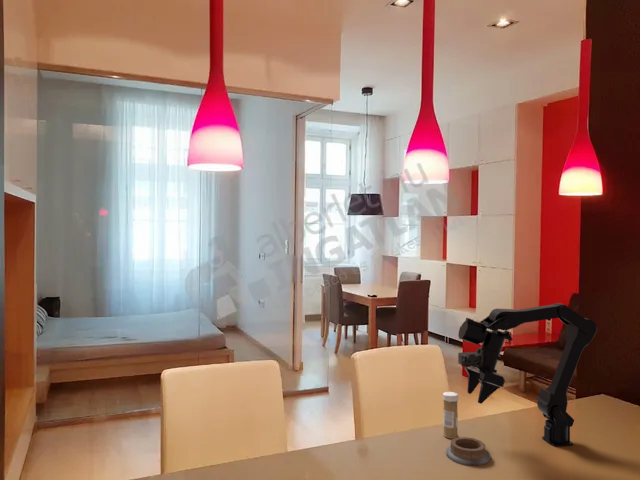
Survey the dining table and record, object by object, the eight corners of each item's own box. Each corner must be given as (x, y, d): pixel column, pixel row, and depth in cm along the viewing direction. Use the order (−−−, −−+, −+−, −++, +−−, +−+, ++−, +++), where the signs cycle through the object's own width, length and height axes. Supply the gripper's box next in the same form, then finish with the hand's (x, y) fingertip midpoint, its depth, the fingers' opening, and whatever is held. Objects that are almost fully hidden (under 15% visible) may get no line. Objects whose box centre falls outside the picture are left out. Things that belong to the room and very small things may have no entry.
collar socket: (477, 445, 153) (477, 434, 153) (498, 463, 141) (498, 450, 141) (439, 448, 151) (439, 437, 151) (457, 467, 139) (457, 454, 139)
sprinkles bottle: (460, 437, 160) (461, 394, 160) (450, 440, 157) (451, 396, 157) (449, 432, 164) (450, 390, 163) (439, 435, 161) (440, 392, 161)
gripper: (456, 335, 164) (440, 381, 164) (476, 347, 145) (459, 399, 145) (488, 346, 164) (473, 391, 164) (513, 360, 146) (495, 411, 146)
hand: (474, 398), depth 155 cm, fingers open, 9 cm apart
